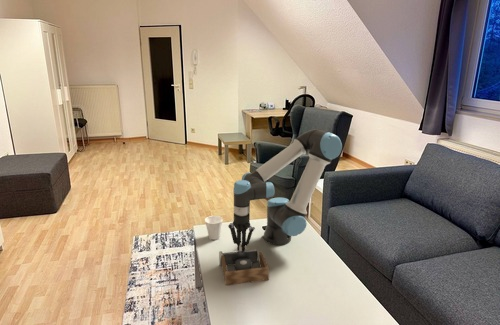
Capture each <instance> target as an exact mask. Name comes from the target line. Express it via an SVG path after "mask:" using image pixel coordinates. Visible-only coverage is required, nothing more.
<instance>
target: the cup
mask: <svg viewBox="0 0 500 325" xmlns="http://www.w3.org/2000/svg"><path fill="white" fill-rule="evenodd" d="M204 222H205V226H206V230H207V236H208V238H209V239H210V240H212V241H215V240H216V241H217V240H219V239H220V237H221V233H222V226H223V217H222V216H220V215H210V216H207V217H205V218H204Z"/></svg>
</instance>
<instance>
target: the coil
mask: <svg viewBox="0 0 500 325" xmlns="http://www.w3.org/2000/svg"><path fill="white" fill-rule="evenodd" d="M246 269H253V262H252V261H251V260H250V259H248V258H239V259H237V260H236V261H235V264H234V271H238V270H246Z"/></svg>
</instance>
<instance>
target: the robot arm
mask: <svg viewBox="0 0 500 325" xmlns="http://www.w3.org/2000/svg"><path fill="white" fill-rule="evenodd" d="M342 149H343V144H342V141H341V139H340V137H339V136H338V135H336V134H334V133H332V132H329V131H326V130H323V129H319V128H313V129H309V130H307V131H305V132H303V133H301V134H300V135H299V136H297V137H296V138H294V139H293V142H292V143H291V144H289V145H288V146H286V147H285V148H284V149H283V150H281V151H280V152H279V153H278V154H276V155H274V156H273V157H271V158H270V159H269V160H268V161H266V162H265V163H263V164H262V165H261V166H259V167H258V168H257V169H255V170H254V171H253V172H245V173H244V174H243V175H242V176H241V179H239V180H236V181H235V182H234V184H233V190H232V191H233V221H232V222H231V223H229V225H227V226H228V228H229V230H230V234H231V238H232V242H233V244H235V245H237V246H236V247H237V248H236V250H237V251H246V247H248V246H249V244H250V242H251V239H252V235H253V232H254V231H255V230H256V228H255V227H254V226H252V225H251V223H250V217H251V216H250V213H251V211H250V208H251V207H250V206H251V201H257V200H263V199H268V200H267V204H266V226H265V230H264V232H263V239H264V241H265V243H268V244H270V245H275V246H283V245H287V244H288V243H291V241H292V237H297V236H298V235H301V234H303V232H304V231H305V230H306V228H307V226H308V224H307V219H306V217H307V214H308V212H307V207H308V205H309V202H310V201H311V198H312V196H313V194H314V192H315V189H316V188H317V185H318V183H319V181H320V179H321V176H322V175H323V172H324V169H325V168H326V166H327V165H330V164H331V163H332V160H334V159H336V158H338V157H339V156H340V154H341V152H342ZM306 154H308V157H309V158H308V160H307V163H306V165H305V168H304V170H303V172H302V174H301V177H300V179H299V181H298V183H297V185H296V187H295V190H294V191H293V194H292V196H291V199H290V200H289V199H288V198H286V197H274V196H275V185H274V184H273V183H272V182H271V181H267V180H269V179H270V178H272V177H273V176H274V175H276V174H277V173H279V172H280V171H281V170H283V169H284V168H285V167H287V166H288V165H290V164H291V163H292V162H294V161H295V160H296V159H299V157H300V156H302V155H303V156H304V155H306ZM273 197H274V198H273ZM247 230H248V235H247Z"/></svg>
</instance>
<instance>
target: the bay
mask: <svg viewBox="0 0 500 325" xmlns="http://www.w3.org/2000/svg"><path fill="white" fill-rule="evenodd" d="M258 253H259V254H258V263H259V265H260V266H259V267H255V268H252V269H246V270H238V271H235V270H231V271H228V267H227V266H228V265H226V262H225V257H224V256H222V266H221V270H222V274H223V279H224V283H225V286H231V285H232V286H233V285H240V284H247V283H253V282H254V283H255V282H262V281H269V280H270V279H269V278H270V276H269V274H270V268H269V266H268V263H267V261H266V258H265V256H264V254H263V251H259V252H258Z"/></svg>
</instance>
